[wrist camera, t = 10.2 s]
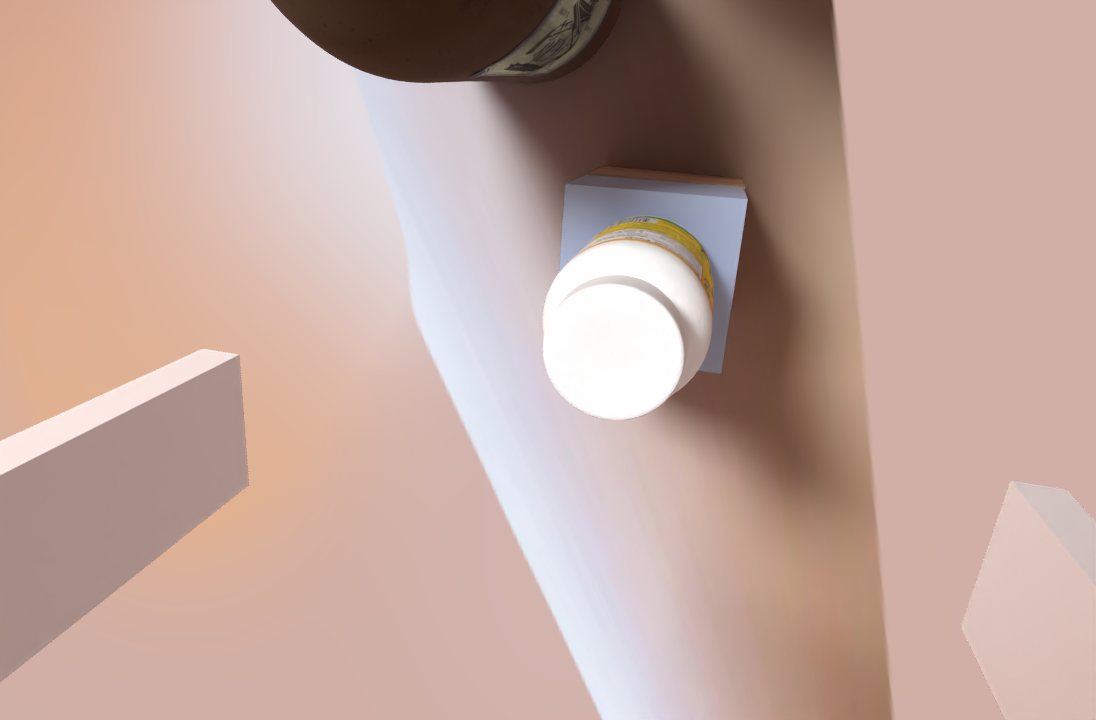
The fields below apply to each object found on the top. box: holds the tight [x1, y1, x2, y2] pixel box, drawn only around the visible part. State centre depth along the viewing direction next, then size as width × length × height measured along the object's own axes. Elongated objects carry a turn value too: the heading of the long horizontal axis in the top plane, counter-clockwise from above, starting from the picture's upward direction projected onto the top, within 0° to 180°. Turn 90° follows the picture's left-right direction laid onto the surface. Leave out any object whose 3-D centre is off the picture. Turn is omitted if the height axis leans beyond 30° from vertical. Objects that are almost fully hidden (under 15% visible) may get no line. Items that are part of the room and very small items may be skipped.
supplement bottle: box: [543, 215, 714, 420], centre depth 24 cm, size 5×5×10 cm
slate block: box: [559, 175, 748, 374], centre depth 31 cm, size 7×7×5 cm
